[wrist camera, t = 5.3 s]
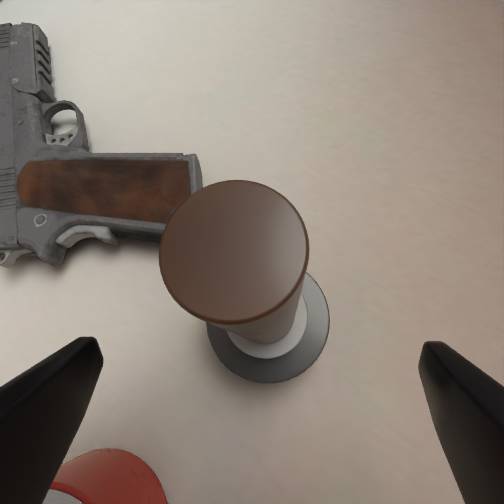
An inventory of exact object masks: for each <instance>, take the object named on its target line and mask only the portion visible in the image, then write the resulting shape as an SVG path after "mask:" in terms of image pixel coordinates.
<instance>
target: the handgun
mask: <svg viewBox="0 0 504 504" xmlns="http://www.w3.org/2000/svg"><path fill="white" fill-rule="evenodd" d="M48 54H49V51H48V40H47V37H46V36H45V34H44V33H43V31H42V30H41V29H40V27H39V26H38V25H35V24H33V25H32V24H30V23H23V22H22V23H21V25H12V24H11V23H7V24H1V25H0V265H1V266H4V267H10V266H12V265H13V264H14V263H15V261H16V259H17V258H18V257H19V256H38V257H39V259H40V260H42V261H44V262H46V263H49V264H51V265H53V266H55V265H58V264H60V263H62V262H63V260H64V258H65V251H66V249H67V248H70V247H72V246H73V245H74V244H75V243H76V242H77V241H79V240H81V239H84V238H88V237H97V238H98V239H100V240H101V241H103V242H105V243H110V244H115V245H116V244H117V243H118V241H117V235H118V236H120V237H125V238H133V239H140V240H147V241H154V242H160V241H161V236H162V233H163V231H164V228H165V226H166V224H167V222H168V220H169V218H170V217H171V215H172V213H173V212H174V211H175V210H176V208H177V207H178V206H179V205H180V204H181V203H182V202H183V201H184V200H185V199H186V198H188V197H189V196H190V195H192V194H193V193H195V192H196V191H198V190H200V189H201V188H203V184H202V173H201V167H200V163H199V160H198V158H197V155H196V154H190V155H183V153H89V147H88V141H87V135H86V129H85V123H84V116H83V114H82V112H81V111H80V110H79V108H78V107H77V106H76V105H75V104H74V103H72V102H70V101H66V100H62V101H58V102H54V92H53V88H52V87H51V86H50V84H51V77H50V76H49V75H50V66H49V65H48V64H49V63H50V62H49V57H48ZM67 109H70V110H74V111H76V117H77V122H78V125H77V126H76V127H75V128H74V129H72V130H71V131H69V132H67V133H65V134H62V135H52V131H51V124H50V120H51V118H52V117H53V116H54V115H55V114H56V113H58V112H59V111H62V110H67ZM72 136H73V137H72ZM71 137H72V138H71ZM64 140H65V141H64ZM55 141H56V142H55ZM63 141H64V142H63ZM54 142H55V143H54Z"/></svg>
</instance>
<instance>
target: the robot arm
mask: <svg viewBox="0 0 504 504" xmlns="http://www.w3.org/2000/svg"><path fill="white" fill-rule="evenodd" d="M102 367H103V356H102V353H101V350H100V347H99V345H98V342H97V340H96V339H95V338H94V337H79V338H77V339H76V340H74V341H72V342H71V343H69V344H68V345H66V346H65V347H63V348H61V349H60V350H58V351H57V352H55V353H53V354H52V355H50V356H49V357H47V358H46V359H44V360H42V361H41V362H39V363H38V364H36V365H34V366H33V367H31V368H30V369H28V370H26V371H25V372H23V373H22V374H20V375H19V376H17V377H15V378H14V379H12V380H11V381H9V382H7V383H6V384H4V385H3V386H1V387H0V504H42V503H43V501H44V499H45V497H46V495H47V493H48V491H49V489H50V487H51V485H52V483H53V481H54V479H55V476H56V474H57V472H58V470H59V468H60V466H61V464H62V462H63V460H64V458H65V456H66V454H67V452H68V449H69V447H70V445H71V443H72V441H73V439H74V437H75V435H76V433H77V431H78V429H79V427H80V424H81V422H82V420H83V418H84V415H85V413H86V410H87V408H88V405H89V402H90V400H91V397H92V394H93V391H94V389H95V386H96V383H97V380H98V378H99V375H100V372H101V370H102ZM418 368H419V374H420V378H421V381H422V385H423V388H424V392H425V395H426V399H427V402H428V406H429V409H430V413H431V416H432V420H433V423H434V426H435V429H436V432H437V435H438V438H439V440H440V443H441V445H442V448H443V450H444V453H445V455H446V458H447V460H448V463H449V465H450V467H451V470H452V472H453V475H454V477H455V480H456V482H457V485H458V487H459V490H460V492H461V495H462V497H463V500H464V502H465V504H504V386H502V385H501V384H499V383H498V382H497V381H495V380H494V379H493V378H491V377H490V376H489V375H487V374H486V373H485V372H483V371H482V370H480V369H479V368H478V367H476V366H475V365H474V364H472V363H471V362H470V361H468V360H467V359H466V358H464V357H463V356H461V355H460V354H459V353H457V352H456V351H455V350H453V349H452V348H451V347H449V346H448V345H447V344H445V343H443V342H440V341H427V342H425V343H424V345H423V348H422V352H421V356H420V360H419V365H418Z"/></svg>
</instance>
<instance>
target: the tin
mask: <svg viewBox="0 0 504 504" xmlns="http://www.w3.org/2000/svg"><path fill="white" fill-rule="evenodd" d="M42 504H167V501H166V497H165V494H164V491H163V489H162V486H161V484H160V482H159V480H158V478H157V477H156V475H155V474H154V472H153V471H152V470H151V468H150V467H149V466H148V465H147V464H146V463H145V462H144V461H142V460H141V459H140V458H138V457H137V456H135V455H133V454H131V453H129V452H126V451H123V450H119V449H111V448H105V449H98V450H94V451H91V452H88V453H86V454H83V455H81V456H79V457H77V458H75V459H73V460H71V461H69V462H67V463H65V464H63V465H61V466H60V468H59V470H58V472H57V474H56V476H55V479H54V481H53V483H52V485H51V487H50V489H49V491H48V493H47V495H46V497H45V499H44V501H43V503H42Z"/></svg>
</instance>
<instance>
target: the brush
mask: <svg viewBox="0 0 504 504" xmlns="http://www.w3.org/2000/svg"><path fill="white" fill-rule="evenodd" d="M308 260H309V239H308V234H307V230H306V227H305V224H304V222H303V220H302V218H301V216H300V214H299V213H298V211H297V210H296V208H295V207H294V206H293V205H292V204H291V203H290V202H289V201H288V199H286V198H285V197H284V196H283V195H281V194H280V193H278V192H277V191H275V190H274V189H272V188H270V187H267V186H265V185H263V184H259V183H256V182H252V181H246V180H228V181H222V182H218V183H214V184H211V185H208V186H206V187H204V188H201V189H200V190H198V191H196V192H195V193H193V194H192V195H190V196H189V197H188V198H186V199H185V200H184V201H183V202H182V203H181V204H180V205H179V206H178V207H177V208H176V210H175V211H174V212H173V213H172V215H171V217H170V218H169V220H168V222H167V224H166V226H165V228H164V231H163V233H162V236H161V241H160V246H159V266H160V271H161V275H162V278H163V281H164V284H165V286H166V288H167V290H168V292H169V293H170V294H171V296H172V297H173V299H174V300H175V301H176V302H177V303H178V304H179V305H180V306H181V307H182V308H183V309H184V310H186V311H187V312H188V313H190V314H192V315H193V316H195V317H197V318H199V319H201V320H204V321H206V324H207V332H208V337H209V340H210V343H211V346H212V348H213V350H214V352H215V353H216V355H217V356H218V358H219V359H220V361H221V362H222V363H223V364H224V365H225V366H226V367H227V368H228V369H230V370H231V371H232V372H233V373H235V374H237V375H238V376H240V377H242V378H244V379H247V380H250V381H253V382H258V383H278V382H283V381H287V380H290V379H292V378H294V377H296V376H298V375H300V374H301V373H303V372H305V371H306V370H307V369H308V368H309V367H310V366H311V365H312V364H313V363H314V362H315V361H316V360H317V358H318V357H319V355H320V354H321V352H322V350H323V348H324V346H325V344H326V341H327V337H328V333H329V324H330V318H329V310H328V305H327V302H326V299H325V296H324V294H323V292H322V290H321V288H320V287H319V285H318V284H317V282H316V281H315V280H314V279H313V278H312V277H311V276H310V275H309V274H308V273H307V272H306V269H307V265H308Z"/></svg>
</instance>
